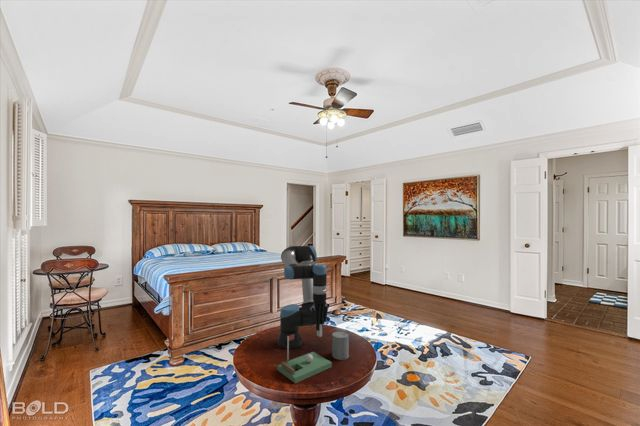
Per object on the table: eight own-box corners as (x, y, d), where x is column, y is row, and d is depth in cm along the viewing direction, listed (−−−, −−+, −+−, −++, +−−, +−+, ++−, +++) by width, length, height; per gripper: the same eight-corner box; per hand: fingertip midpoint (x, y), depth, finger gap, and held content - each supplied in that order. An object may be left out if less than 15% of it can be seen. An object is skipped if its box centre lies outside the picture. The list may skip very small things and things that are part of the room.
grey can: (347, 360, 170) (348, 338, 170) (330, 358, 172) (331, 337, 172) (349, 352, 179) (349, 331, 179) (333, 351, 181) (333, 330, 181)
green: (277, 370, 159) (277, 338, 159) (312, 355, 175) (313, 327, 175) (295, 383, 147) (295, 349, 147) (331, 366, 163) (331, 336, 163)
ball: (304, 361, 163) (304, 354, 163) (309, 359, 166) (309, 352, 166) (308, 364, 160) (308, 357, 160) (314, 362, 163) (314, 354, 163)
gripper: (314, 296, 160) (314, 341, 160) (333, 292, 168) (332, 334, 168) (306, 293, 166) (305, 336, 166) (324, 289, 174) (323, 330, 174)
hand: (319, 335), depth 167 cm, fingers closed
